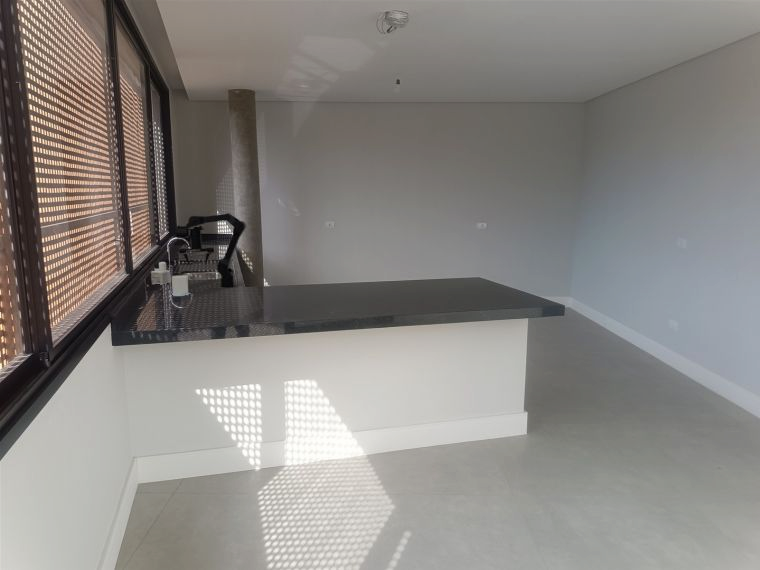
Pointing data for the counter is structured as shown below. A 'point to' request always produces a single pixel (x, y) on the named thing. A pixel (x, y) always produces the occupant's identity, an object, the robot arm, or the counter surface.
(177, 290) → the matte gray cube
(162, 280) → the container
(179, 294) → the disc
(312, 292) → the counter surface
